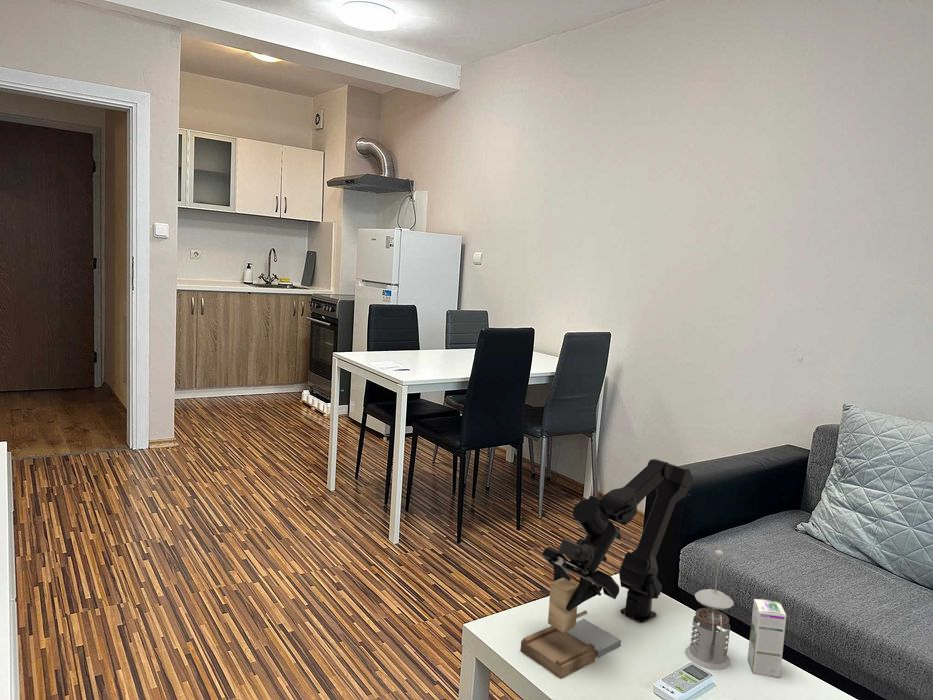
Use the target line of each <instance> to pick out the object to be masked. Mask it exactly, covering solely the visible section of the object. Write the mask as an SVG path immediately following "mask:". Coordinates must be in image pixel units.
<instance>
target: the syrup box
mask: <svg viewBox="0 0 933 700" xmlns="http://www.w3.org/2000/svg"><path fill="white" fill-rule="evenodd" d="M752 606H753V607H752V615H751V623H750V624H751V626H750V632H749V633H750V634H749V641H748V642H749V643H748V653H747V660H748V664H749V666H750V669H751V672H752V673H753V674H757V675H760V676H767V677H774V678H781V671H782V670H781V668H782V660H783V652H784V641H785V634H786V633H785V631H786V623H787V614H786V612H785V609H784V608H783V605H782V604H781V602H779V601H774V600H769V599H757V598H754V599H753V605H752Z"/></svg>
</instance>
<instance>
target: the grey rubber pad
mask: <svg viewBox="0 0 933 700" xmlns="http://www.w3.org/2000/svg"><path fill="white" fill-rule="evenodd" d="M566 632H567V633H568V634H570V635H572V636H573V637H575V638H577V639H578V640H580V641H582V642H583V643H585V644H587V645H588V644H590V643H591V644H593V645H594V646H595V648H594V649H595V650H596V658H600V657H602V656H604V655H605V654H608V653H610V652H612V651H614V650H616V649H617V648H619V647H621V646H622V645H621V644H622V639H620V638H619V637H617V636H615V635H613V634H612V633H609V632H608V631H606V630H604V629H602V628H601V627H599V626H598V625H596V624H594V623H593V622H591V621H589V620H587V619H585V618H582V619H580V620H576V627H574V628H572V629H570V630H568V631H566Z"/></svg>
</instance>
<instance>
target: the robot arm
mask: <svg viewBox="0 0 933 700" xmlns="http://www.w3.org/2000/svg"><path fill="white" fill-rule="evenodd" d="M693 482H694V476H693V474H692V473H691V470H690V469H688V468H685V467H682V466H678V465H675V464H672V463H669V462H667V461H664V460H660V459H656V458H652V459H650V460H649V461H648V462H647V465H646V466H645V467H644V468H643V469H642V470H641V471H640V472H638V474H636V475H635V476H634V477H633V478H632V479H631V480H630V481H628V483H626V484H625V485H624V486H623V487H620V488H619V487H618V488H614V489H612V490H610V491H608V492H606V493H605V494H604V495H603V496H602V497H600V498H598V496H597V497H596V496H593V495H590V496H589V497H588V498H587V499H583V500H581V501H579V502H577V503H576V504H575V505H574V507H573V510H572V515H573V518H574V519H575V521H576V523H578V525H579V526H580V527H581V529H582V530H583V531H584V532H585V533H586V534H585V536H584V538H579V539H577V541H576V542H574V541H571V540H569V539H566V538H562V540H561V542H560V545H559V548H558V549H557V548H554V547H552V546H550V545H549V546H547V547H545V548H544V550H543V551H542V552H541V556H542V558H543V559H544V560H545V561H546V562H547V563H548V564H549V565H550V566H551V567H552V568H553V581H556V580H558V579H561V578H565V579H567V580H569V581H571V580H572V578H571V577H570V576H569V572H571V573H573V574H575V575H577V576H579V583H578V588H577V590H576V591H575V593H574V595H573V596H572V598H571V599H570V601H569V603H568V605H567V607H566V609H567V610H568V611H570V610H572V609H574V608H575V607H577V608H578V607H579V606H580V605H581V604H583V603H585V602H586V601H588V600H590V599H592V598H594V597H596V596H599V597H601V595H602V592H603V594H604V595H606V596H607V597H609V598H611V599H613V600H616V599H617V597H618V595H619V593H620V587H621V588H624V589H627V591H626V592H627V593H626V600H625V607H623V608H621V609H620V613H622V614H623V615H626V616H627V617H629V618H631V619H633V620H634V621H637V622H638V623H645V622H646V621H648V620H650V619H653V618H654V617H656V616H657V613H656V612H654V611H652V605H653V604H652V603H653V599H654V600H655V599H659V597H660V595H661V593H662V589H663V585H662V584H661V582H660V581H659V579H658V573H659V567H658V563H657V555H658V553H659V550H660V546H661V544H662V541H663V539H664V537H665V533H666V532H667V531H666V530H667V528H668V525H669V522H670V519H671V517H672V514H673V512H674V509H675V507H676V504H677V503H678V502H680V501H681V500H682V499H683V498H685V497H686V495H687V494H688V492H689V490H690V488H691V487H692V485H693ZM653 490H655V491H656V497H655V499H654V501H653V505H652V508H651V510H650V512H649V515H648V517H647V521H646V523H645V525H644V529H643V531H642V534H641V536H640V539H639V541H638V544H637V547H636V549H634V550H633V551H632V552H629V551H628V552H626V553H625V555H624V558H623V561H622V563H621V565H620V567H619V571H618V572H619V573H618V575H619V581H620V585H619V584H618V583H617V582H616V581H615V579H614V578H613V577H612V576H611V575H609V574H607V573H605V572H604V571H600V570H597V569H598V568H599V566H600V565H601V563H602V562H603V563H606V561H607V560H608V558H607V556H606V554H607V552H608V551H609V549H610V548H611V546H612V544H613V543H614V541H615V539H617V540H621V537H622V535H621V531H620V529H621V528H620V527H619V526H618V525H615V524H614V523H618V524H620V525H622V526H623V525H624V526H626V525H628V524H629V523H631V522H632V520H633V519H634V518H635V516H636V514H638V505H639V504H640V503H641V502H642V501H643V500H644V499H645V498H646V497H647V496H649V494H650V493H651V492H652V491H653ZM613 522H614V523H613ZM553 581H552V582H553ZM602 590H603V591H602ZM601 591H602V592H601ZM549 600H550V597H549Z"/></svg>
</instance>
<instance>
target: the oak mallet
mask: <svg viewBox="0 0 933 700" xmlns="http://www.w3.org/2000/svg"><path fill="white" fill-rule="evenodd" d="M578 586H579V584H576V583H574V582H573V581H571V580H570V581H569V580H567V579H565V578H561V579H558V580H556V581H551V582H550V586H549V588H550V589H549V598H550V599H549V600H548V601H549V604H548V617H547V624H548V625H550V626H553V627H555V628H556V629H558V630H560V631H561V632H563V633H564V632H566V631H568V630H570V629H572V628H574V627H576V622H577V619H580V618H581V617H583V616H586V615H588V611H587V610H583V611H581V612H579V613H578V606H577V607H575V608H574V609H572V610H570V611H568V610H567V609H566V607H567V605H568V603H569V601H570V599H571V598H572V596H573V595H574V593H575V591H576V590H577V588H578Z"/></svg>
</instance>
